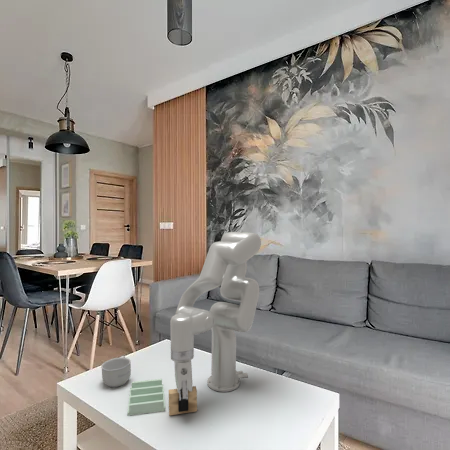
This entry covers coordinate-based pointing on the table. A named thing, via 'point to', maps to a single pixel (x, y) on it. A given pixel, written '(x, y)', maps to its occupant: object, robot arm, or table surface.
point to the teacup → (116, 371)
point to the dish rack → (146, 397)
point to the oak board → (174, 401)
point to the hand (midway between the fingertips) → (182, 407)
